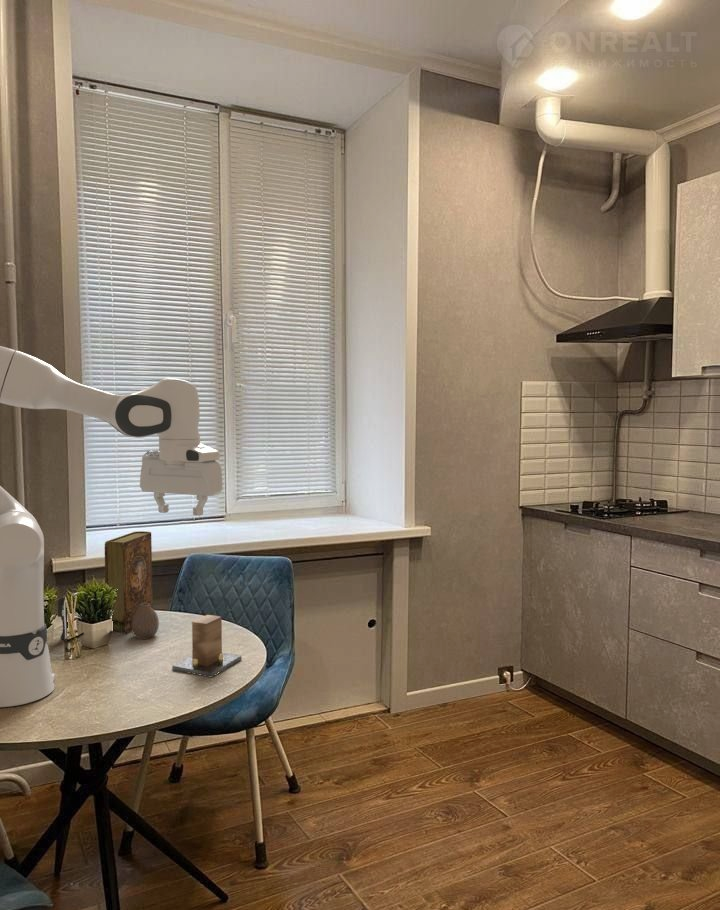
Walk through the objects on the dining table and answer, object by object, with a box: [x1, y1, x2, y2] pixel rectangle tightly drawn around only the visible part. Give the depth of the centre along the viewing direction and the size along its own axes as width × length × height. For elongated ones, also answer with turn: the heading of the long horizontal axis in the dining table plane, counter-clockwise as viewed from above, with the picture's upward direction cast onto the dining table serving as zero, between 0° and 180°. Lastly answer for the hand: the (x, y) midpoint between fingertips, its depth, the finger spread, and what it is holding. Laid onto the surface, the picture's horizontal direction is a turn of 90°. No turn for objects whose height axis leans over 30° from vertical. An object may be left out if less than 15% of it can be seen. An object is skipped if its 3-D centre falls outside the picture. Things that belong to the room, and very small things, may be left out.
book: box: [104, 530, 154, 635], centre depth 193 cm, size 16×6×25 cm, turn 168°
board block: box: [191, 614, 223, 666], centre depth 164 cm, size 4×6×10 cm, turn 156°
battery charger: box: [56, 592, 78, 641], centre depth 183 cm, size 7×4×11 cm, turn 165°
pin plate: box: [171, 650, 242, 677], centre depth 164 cm, size 11×12×3 cm
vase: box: [131, 603, 160, 640], centre depth 184 cm, size 7×7×9 cm
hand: (180, 513), depth 155 cm, fingers open, 8 cm apart
